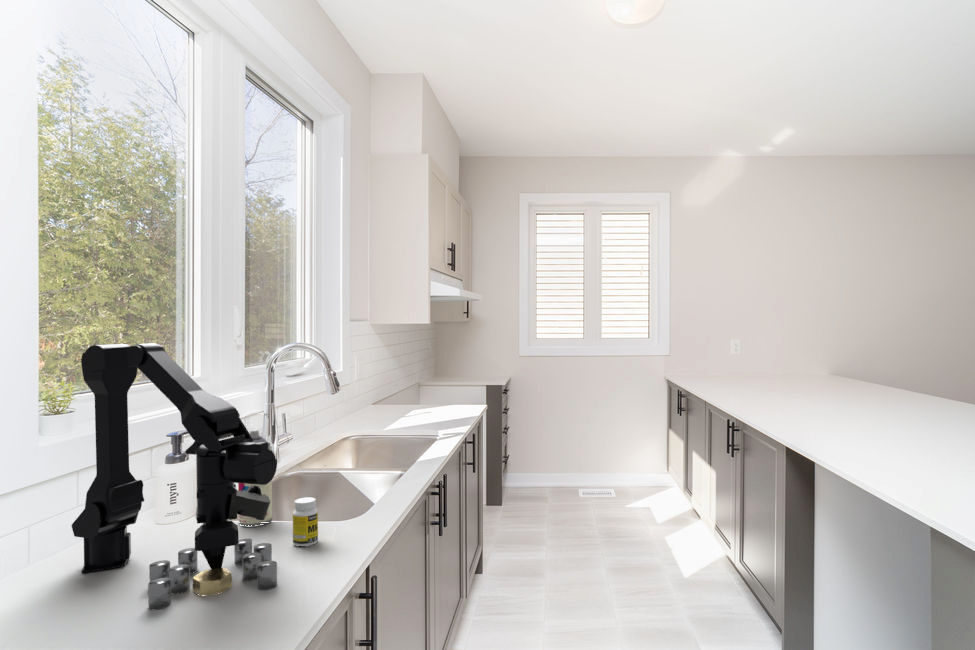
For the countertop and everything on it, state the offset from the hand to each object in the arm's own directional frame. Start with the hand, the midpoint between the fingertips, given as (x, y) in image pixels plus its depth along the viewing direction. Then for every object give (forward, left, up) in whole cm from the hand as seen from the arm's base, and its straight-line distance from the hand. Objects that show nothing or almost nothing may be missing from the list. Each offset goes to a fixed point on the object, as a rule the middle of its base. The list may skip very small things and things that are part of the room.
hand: (217, 572), depth 99 cm
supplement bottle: (+16, +11, -1) cm, 19 cm away
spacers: (-1, 0, -1) cm, 1 cm away
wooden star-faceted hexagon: (-1, -3, -1) cm, 4 cm away
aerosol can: (+8, +29, -1) cm, 30 cm away
